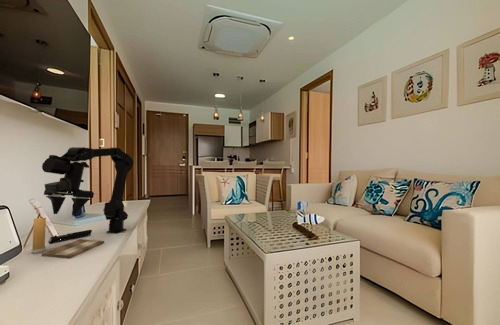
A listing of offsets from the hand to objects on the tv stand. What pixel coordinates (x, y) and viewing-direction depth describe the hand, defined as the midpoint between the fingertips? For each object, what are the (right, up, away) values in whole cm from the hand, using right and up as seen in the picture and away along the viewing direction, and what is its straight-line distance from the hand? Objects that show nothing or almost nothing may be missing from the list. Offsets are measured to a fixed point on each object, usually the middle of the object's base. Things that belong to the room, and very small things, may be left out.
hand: (64, 214), depth 86 cm
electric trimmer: (-8, -15, +13) cm, 21 cm away
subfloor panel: (+3, -14, +2) cm, 15 cm away
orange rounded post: (-8, -14, -2) cm, 16 cm away
